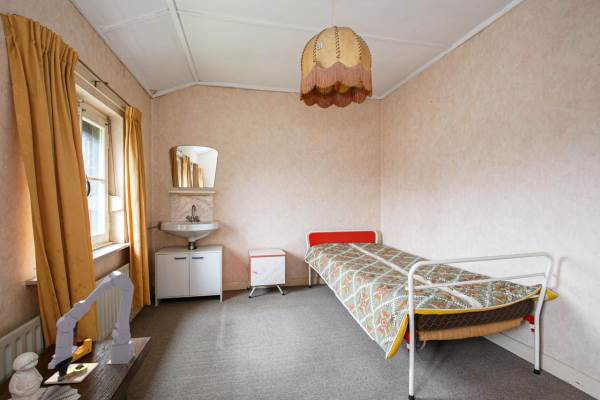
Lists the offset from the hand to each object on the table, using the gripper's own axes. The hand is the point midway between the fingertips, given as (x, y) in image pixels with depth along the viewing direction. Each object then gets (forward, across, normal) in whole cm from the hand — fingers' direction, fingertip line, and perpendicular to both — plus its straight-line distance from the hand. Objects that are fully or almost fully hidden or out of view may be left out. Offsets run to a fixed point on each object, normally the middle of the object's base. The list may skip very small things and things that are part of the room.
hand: (62, 375), depth 117 cm
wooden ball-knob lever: (0, -1, +3) cm, 4 cm away
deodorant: (+2, -25, -14) cm, 28 cm away
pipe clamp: (+2, -18, -6) cm, 19 cm away
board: (+2, -4, +2) cm, 5 cm away
